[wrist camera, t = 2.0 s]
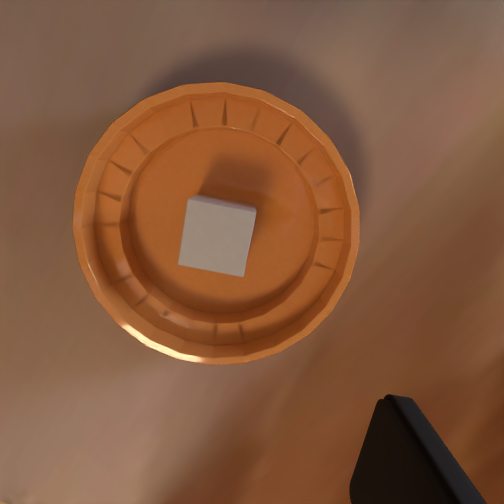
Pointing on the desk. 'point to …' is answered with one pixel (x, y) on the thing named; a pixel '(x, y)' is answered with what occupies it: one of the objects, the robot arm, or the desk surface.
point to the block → (217, 234)
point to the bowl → (224, 186)
